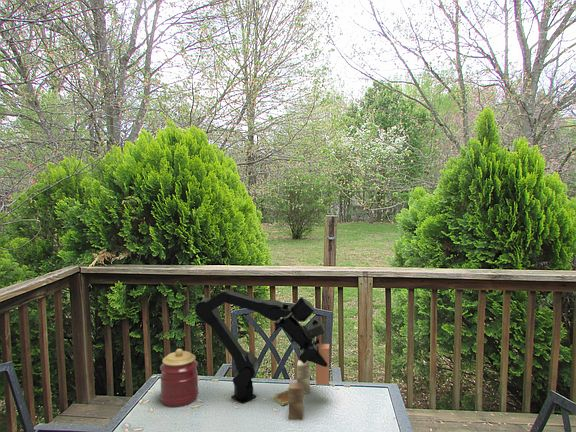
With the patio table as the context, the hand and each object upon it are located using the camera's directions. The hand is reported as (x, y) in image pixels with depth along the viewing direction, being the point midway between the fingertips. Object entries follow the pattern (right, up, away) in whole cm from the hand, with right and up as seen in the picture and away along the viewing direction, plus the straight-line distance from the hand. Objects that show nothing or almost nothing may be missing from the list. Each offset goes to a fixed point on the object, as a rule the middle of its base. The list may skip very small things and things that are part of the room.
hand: (326, 363), depth 135 cm
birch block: (-8, -13, +9) cm, 18 cm away
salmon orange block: (-1, -7, 0) cm, 7 cm away
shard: (-15, -14, +3) cm, 21 cm away
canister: (-52, -14, +4) cm, 54 cm away
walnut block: (-11, -14, -9) cm, 20 cm away
